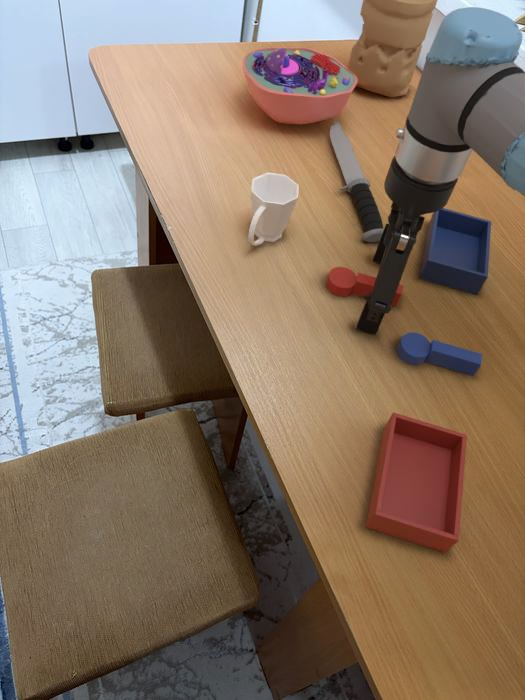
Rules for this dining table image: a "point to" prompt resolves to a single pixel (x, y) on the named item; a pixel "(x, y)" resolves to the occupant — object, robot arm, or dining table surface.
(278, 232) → the cup
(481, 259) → the blue bin
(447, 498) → the red bin
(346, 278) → the red spoon
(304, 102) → the cell model
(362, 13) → the container
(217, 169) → the dining table surface
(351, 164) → the knife
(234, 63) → the dining table surface
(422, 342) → the blue spoon
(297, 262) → the dining table surface
